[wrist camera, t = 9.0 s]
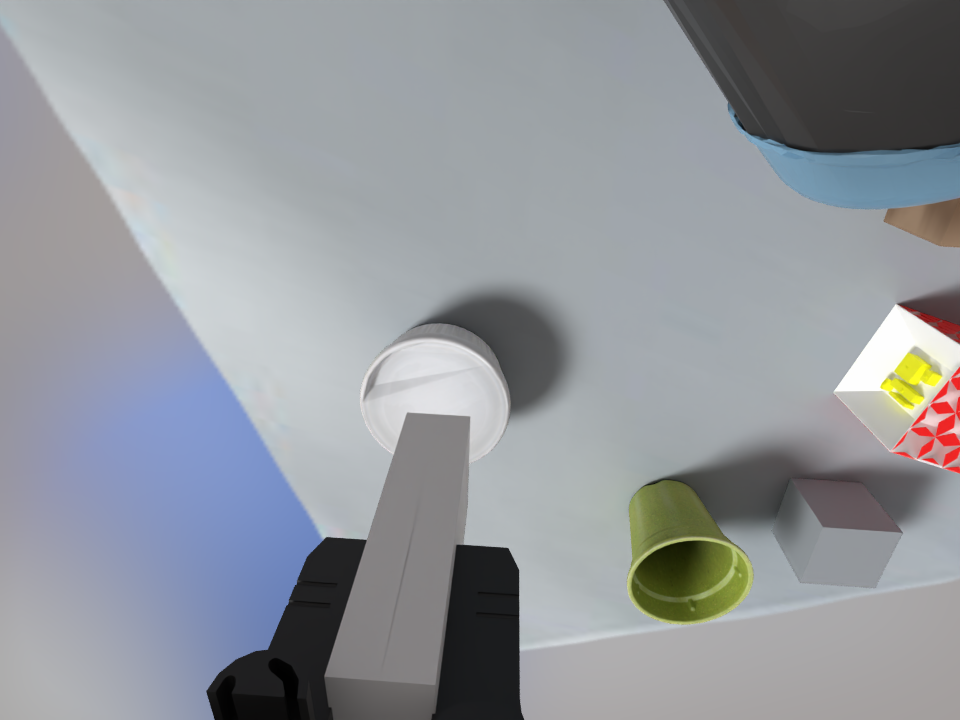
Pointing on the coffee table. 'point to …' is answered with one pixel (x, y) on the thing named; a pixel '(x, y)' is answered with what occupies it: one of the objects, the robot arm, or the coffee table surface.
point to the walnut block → (930, 221)
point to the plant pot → (682, 558)
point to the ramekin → (437, 385)
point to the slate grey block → (835, 533)
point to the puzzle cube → (910, 387)
